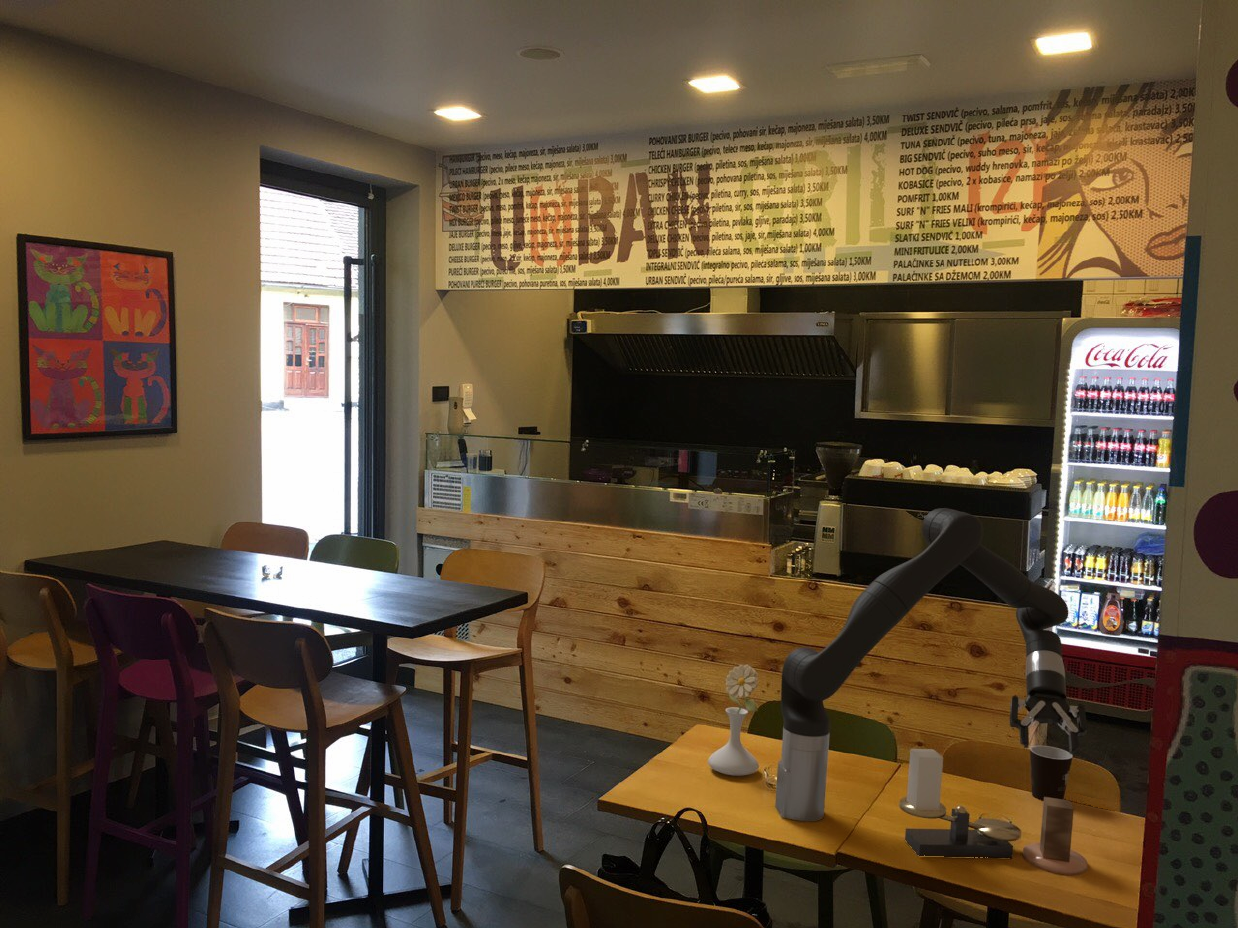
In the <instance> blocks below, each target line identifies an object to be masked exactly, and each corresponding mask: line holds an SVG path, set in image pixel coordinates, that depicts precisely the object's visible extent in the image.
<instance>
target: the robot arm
mask: <svg viewBox="0 0 1238 928" xmlns="http://www.w3.org/2000/svg"><path fill="white" fill-rule="evenodd" d="M983 526H984V525H983V523H982V521H981V520H980V519H979V518H978V517H977V516H975V515H974V514H973V515H972V514H971V513H967V512H965V511H959V510H957V509H952V508H947V507H944V508H943V507H942V508H941V507H939V508H935V509H933V510H931V511H929V512H928V513H927V515H926V516H925V517H924V518H923V521H922V526H921V533H922V536H923V537H922V538H923V540H924V541H925V542H926V544H927V545H928V547H926V549H924V550H923V551H922V552H921V553H920V554H918V555H917V556H914V557H913V558H911V559H908V560H907V561H905V562H902V563H901V564H899V565H896V566H894V567H893V568H890V569H888V570H886V571H885V572H883V573H882V574H880V575H879V576H877V577H876V578H875V579H874V580H873V581H872V582H871V583H869V584H868V585H867V587H866V588H865V589H864V590H863V591H862V592H861V593H860V594H859V595H858V596H857V598H856V599H855V601H854V602H853V604H852V607H851V609H850V610H849V614H848V617H847V619H846V621H845V624H844V626H843V628H842V629H841V631H840V632H839V634H838V635H837V636H836V637H835V638H834V639H833V640H832V641H831V642H830V643H829V644H828V645H827V646H825V648H824V649H822V650H821V651H818V650H816V649H813V648H810V647H805V646H804V647H798V648H795V649H793V650H792V651H791V652H789V654H788V655H787V656H786V658H785V660H784V663H783V666H782V671H781V683H780V684H781V688H780V691H781V693H780V710H781V714H782V717H783V727H782V742H781V759H780V760H778V762H777V773H776V784H775V785H776V787H775V801H774V802H775V803H774V806H775V809H776V810H777V811H778V813H779V815H780V816H781V818H783V819H791V820H793V821H794V820H795V821H799V822H816V821H819V820H822V819H823V818H824V815H825V807H826V806H825V805H826V804H825V803H826V792H827V791H826V790H827V777H828V760H829V759H828V758H829V747H830V733H831V732H830V731H831V719H830V716H829V714H828V713H827V710H826V708H825V705H824V701H826V700H828V699H829V698H831V697H832V696H834V694H835V693H836V692H837V691H839V689H840V688H841V687H842V686H843V684H844V683H845V682H846V680H848V678H849V677H850V675H851V674H852V673H853V671H854V670H855V669H856V668H857V666H858V665H859V664H860V663H861V662H862V660H863V659H864V658H865V657H866V656H867V655H868V654H869V653H870V652H871V650H873V649H874V648H875V647H876V646H877V645H878V644H879V643H880V641H881V640H882V639H884V638H885V636H886V635H888V633H889V632H891V630H892V629H893V628H894V627H896V626H897V625H898V624H899V623H900V622H901V621H902V619H904V618H905V617H906V616H907V615H908V613H910V611H911V610H912V609H914V607H915V606H916V604H917V603H919V602H920V601H921V600H922V599H923V598H924V597H925V596H926V595H927V594H928V593H929V592H930V591H931V590H933V588H934V587H935V586H936V585H937V584H938V583H939V582H940V581H941V580H943V578H944V577H946V576H947V575H949V573H951V572H952V571H953V570H955V569H956V568H957V567H958V566H959V565H960V566H961V567H963V568H965V569H966V570H967V571H968V572H970V573H971V574H972V575H974V576H975V577H976V578H977V579H978V580H979V581H981V582H982V583H983V584H984V585H985V586H986V587H987V588H989V589H990V590H991V591H992V592H993V593H994V594H995V595H996V596H998V597H999V598H1000V599H1001V600H1002V601H1004V602H1005V604H1007V605H1008V606H1009V607H1011V608H1013V609H1016V610H1015V618H1016V621H1017V623H1018V626H1019V628H1020V630H1021V633H1022V636H1023V639H1024V643H1025V653H1026V654H1025V655H1026V662H1025V683H1026V684H1025V685H1026V699H1023V698H1021V699H1020V698H1019V696H1017V695H1013V696H1012V697H1011V700H1010V708H1009V726H1010V727H1011V728H1016V729H1018V730H1019V743H1020V745H1022V746H1023V748H1024V749H1028V748H1029V745H1030V737H1029V734H1030V733H1029V727H1030V726H1032V725H1033V724H1034V723H1035V722H1038V723H1039V724H1049V725H1052V726H1056V725H1058V726H1059V727H1060V728H1061V730H1063V731H1065V733H1066V734H1067V735H1068V747H1069V750H1068V752H1069V753H1070V754H1072V755H1075V753H1077V751H1078V749H1079V737H1082V738H1083V737H1085V736H1086V735H1087V734H1086V733H1087V731H1088V730H1089V728H1088V720H1087V714H1086V709H1085V705H1084V704H1082V703H1079V704H1078V705H1070V704H1069V702H1068V701H1067V686H1066V672H1065V671H1066V670H1065V665H1064V661H1063V650H1062V648H1063V647H1062V640H1061V637H1060V636H1059V635H1058V633H1056V632H1054V631H1052V630H1048V629H1049V628H1053V627H1056V626H1058V625H1059V626H1060V625H1061V624H1063V623H1064V622H1066V621H1067V619H1068V618H1069V608H1068V605H1067V603H1066V601H1065V600H1064V599H1063V597H1061V596H1060V594H1058V593H1056V592H1055V591H1054V590H1052V589H1050V588H1048V587H1045V586H1043V585H1041V584H1039V583H1037V582H1034V581H1032V580H1030V579H1029V577H1027V576H1026V575H1025V574H1024V573H1023V572H1022V571H1020V570H1019V569H1018V568H1017V567H1016V566H1014V565H1013V564H1012V563H1010V562H1009V561H1008V560H1006V559H1004V558H1003V557H1001V556H999V555H998V554H996V553H995V552H993V551H992V550H990V549H989V548H987V547H986V546H984V545H983V544H982V540H983V537H984V527H983ZM1022 707H1024V708H1025V709H1026V710H1027V712H1028V713H1027V714H1026V715H1025V717H1024V718H1023V719H1022V720H1021V719H1020V718H1019V717H1018V716H1019V711H1020V710H1022ZM1069 713H1071V714H1072V716H1073V717H1074V718H1076V722H1077V724H1074V722H1073V721H1072V719H1071V717H1070V716H1069V715H1068V714H1069Z"/></svg>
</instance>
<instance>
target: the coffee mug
mask: <svg viewBox="0 0 1238 928" xmlns="http://www.w3.org/2000/svg"><path fill="white" fill-rule="evenodd" d="M1029 754H1030V756H1029V757H1030V779H1031V781H1030V782H1031V785H1030V786H1031V796H1032V797H1034V798H1035V799H1036V800H1038V801H1042V802H1044V797H1049V798H1056V799H1063V800H1065V794H1066V789H1067V785H1068V784H1067V783H1068V780H1069V777H1070V776H1069V775H1070V771H1071V768H1072V767H1071V765H1072V762H1073V757H1074V756H1073V754H1070V751H1067V750H1065V749H1062V748H1058V747H1054V746H1048V745H1034V746H1030V747H1029Z"/></svg>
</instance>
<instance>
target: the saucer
mask: <svg viewBox="0 0 1238 928" xmlns="http://www.w3.org/2000/svg"><path fill="white" fill-rule="evenodd" d="M1022 856H1023V858H1025V859H1024V860H1025V861H1026V862H1027V863H1029V864H1031V866H1034V867H1036V868H1038V869H1040V870H1043V871H1047V872H1050V873H1052V874H1053V873H1054V874H1060V875H1068V876H1071V875H1074V876H1076V875H1080V874H1084V873H1085V872H1086V871H1087V869H1088V860H1087V858H1086V857H1084V856H1083V855H1082V854H1081V853H1079V852H1077V851H1075V850H1073V849H1071V848H1070V860H1069V862H1063V861H1057V860H1051V859H1045V858H1043V856H1042V853H1041V850H1040V842H1033V843H1031V842H1030V843H1028V844H1026V845H1024V847H1023V849H1022Z"/></svg>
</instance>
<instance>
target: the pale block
mask: <svg viewBox="0 0 1238 928" xmlns="http://www.w3.org/2000/svg"><path fill="white" fill-rule="evenodd" d="M909 753H910V754H909V766H908V776H907V777H908V778H907V779H908V780H907V791H906V793H907V794H906V797H907V801H908V802H909V803H910V804H911V805H912V806H913V807H914V808H915V810H939V806H940V803H941V790H942V777H943V767H944V763H943V762H944V757H943V756H942V755H941V754H940V753H939V752H937V751H936V750H935V749H931V748H910V752H909Z"/></svg>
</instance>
